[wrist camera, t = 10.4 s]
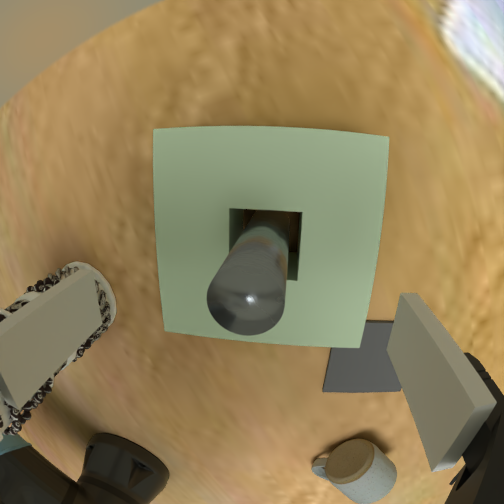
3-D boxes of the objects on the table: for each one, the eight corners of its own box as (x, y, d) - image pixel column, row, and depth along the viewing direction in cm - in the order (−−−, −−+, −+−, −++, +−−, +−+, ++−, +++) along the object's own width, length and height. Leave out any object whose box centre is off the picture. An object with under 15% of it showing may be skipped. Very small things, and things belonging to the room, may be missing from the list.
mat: (322, 389, 30) (322, 391, 30) (336, 319, 28) (336, 321, 27) (399, 388, 29) (399, 391, 29) (422, 321, 27) (423, 323, 26)
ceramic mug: (370, 426, 32) (377, 474, 24) (393, 450, 33) (401, 493, 26) (299, 454, 35) (296, 500, 28) (329, 475, 36) (329, 516, 29)
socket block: (187, 297, 29) (164, 330, 23) (183, 133, 24) (153, 129, 18) (348, 310, 27) (359, 347, 22) (367, 140, 22) (389, 136, 17)
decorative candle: (57, 245, 29) (-124, 359, 6) (124, 276, 29) (-65, 452, 6) (56, 312, 32) (-79, 435, 9) (117, 343, 32) (-11, 507, 9)
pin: (250, 241, 26) (207, 331, 13) (251, 204, 25) (205, 262, 12) (288, 243, 26) (281, 338, 13) (291, 206, 25) (287, 268, 12)
